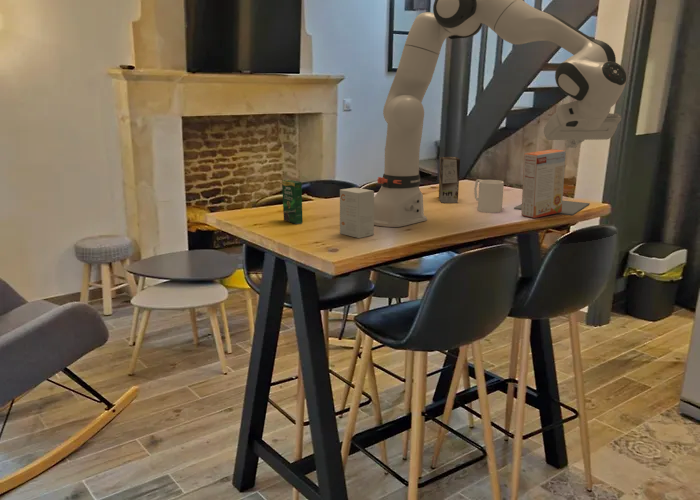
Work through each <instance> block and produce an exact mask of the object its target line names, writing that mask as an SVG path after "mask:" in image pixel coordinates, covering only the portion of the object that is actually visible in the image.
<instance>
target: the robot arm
mask: <svg viewBox="0 0 700 500" xmlns="http://www.w3.org/2000/svg"><path fill="white" fill-rule="evenodd" d="M432 7H433V8H432V12H430V11H426V12H422V13H419V14H418V15H417V16H416V17H415V19H414V20H413V22H412V25H411V27H410V29H409V32H408V34H407V37H406V38H405V39H406V40H405V42H404V46H403V49H402V52H401V56H400V59H399V63H398V66H397V69H396V72H395V75H394V78H393V80H392V83H391V85H390V88H389V90H388V93H387V94H388V95H387V97H386V98H385V99H386V100H385V103H384V106H383V110H382V111H383V113H382V115H383V118H384V121H385V122H386V125H387V128H386V139H385V146H384V173H383V174H382V177H380V176H378V177H377V180H376V181H377V184H380V188H379V190H378V191H377V192H376V194H374V226H378V227H379V226H380V227H385V228H386V227H389V228H401V227H403V226H409V225H414V224H418V223H421V222H426V221H427V220H428V218H427V216H426V215H424V214H425V213H424V194H423V193H422V192H421V189H420V187H419V186H420V185H421V174H420V150H421V143H422V136H423V128H424V120H425V119H424V118H425V109H424V108H425V107H424V105H423V103H422V102H423V99H424V97H425V95H426V92H427V89H428V88H429V86H430V84H431V82H432V79H433V76H434V73H435V70H436V67H437V63H438V60H439V58H440V53H441V49H442V46H443V43H444V42H445V40H446V39H450V40H455V39H467V38H471V37H474V36H476V35H478V33H479V32H480V31H481V29H482V27H483V25H485V26H486V27H488V28H489V29H490V30H492V31H493V32H494V34H496V35H497V36H499V38H500V39H502V40H503V41H505V42H507V43H510V44H512V45H524V44H527V43H528V44H529V43H533V42H540V41H541V42H543V41H544V42H551V43H554V44H556V45H557V46H559V47H560V48H562V49H564V50H566V51H567V52H568V53H570V54H571V55H572V56H569V57H568V58H567V59H566V60H564V61H563V62H561V63H559V65H557V67H556V69H555V72H554V73H555V74H554V79H555V83H556V86H557V87H558V88H559V90H560V91H561V92H562V93H564V94H565V95H567V96H568V97H570V98H572V99H573V100H574V101H571V102H567V103H563V104H559V105H557V107H556V108H555V109H556V112H554V113H553V114H552V115H551V116H550V117H549V119H548V120H547V121H546V123H545V125H544V127H543V133H544V137H545V139H546V140H547V141H565V143H564V146H565V148H566V149H567V148H568V149H572V148H573V149H574V148H575V149H576V148H577V147H578V145H579V144H582V143H583V142H585V140H586V141H587V140H588V141H593V140H595V141H597V140H598V141H599V140H600V141H601V140H606V141H607V140H610V139H612V138H613V136H614V134H615V132H616V130H617V128H618V124H619V123H620V122H621V120H622V117H623V116H622V115H621V114H620V113H617V112H615V113H611V108H612V107H613V106H615V104H617V102H618V100H619V99H620V97H621V95H622V93H623V91H624V89H625V86H626V83H627V80H628V78H627V77H628V76H627V72H626V69H624V67H623V66H621V64H619V63H618V62H617V61H616V54H615V51H614V50H613V48H612V47H611V45H609V43H606V42H605V41H603V40H599V39H596V38H593V37H591V36H589V35H588V34H585V32H583V31H582V30H579V29H578V28H576V27H574V26H573V25H571V24H570V23H568V22H566V21H565V20H563V19H562V18H560V17H558V16H556V15H554V14H552V13H550V12H545V11H542V10H539V9H538V8H536V7H533V6H532V5H530V4H529V3H527V2H526V1H524V0H434V2H433V5H432Z"/></svg>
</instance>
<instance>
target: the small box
mask: <svg viewBox="0 0 700 500" xmlns="http://www.w3.org/2000/svg"><path fill="white" fill-rule="evenodd" d="M374 197H375V190H371V189H366V188H360V187H350V188H342V189H339V234H341V235H346V236H350V237H353V238H356V239H360V238H365V237H370V236H374V235H375V234H374V233H375V231H374V230H375V225H374Z"/></svg>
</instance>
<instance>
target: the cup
mask: <svg viewBox="0 0 700 500" xmlns="http://www.w3.org/2000/svg"><path fill="white" fill-rule="evenodd" d="M504 183H505V182H504V181H503V180H498V179H497V180H496V179H479V178H477V179H476V180H475V183H474V188H473V189H474V190H473V191H474V199H475V200H476V201H477V211H478V212H482V213H491V214H493V213H494V214H495V213H500V212H502V211H503V199H504ZM477 188H478V191H477Z"/></svg>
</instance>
